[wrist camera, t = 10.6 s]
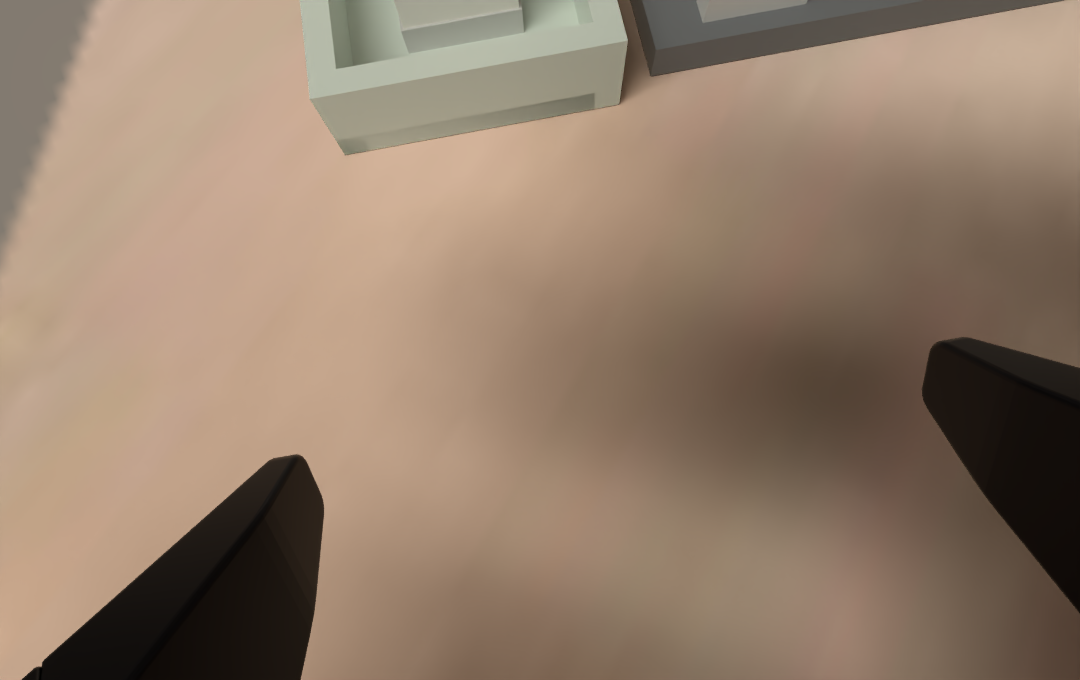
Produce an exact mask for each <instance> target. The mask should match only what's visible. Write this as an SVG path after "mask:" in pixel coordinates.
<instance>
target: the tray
mask: <svg viewBox="0 0 1080 680" xmlns="http://www.w3.org/2000/svg"><path fill="white" fill-rule="evenodd" d="M520 2H521V6H522V14H523V25H524V33H520V34H515V35H509V36H504V37H498V38H493V39H487V40H482V41H476V42H471V43H465V44H460V45H454V46H449V47H443V48H438V49H432V50H427V51H421V52H415V53H410V54H409V53H408V50H407V47H406V44H405V41H404V38H403V35H402V33H401V28H400V21H399V14H398V11H397V8H396V6H395V3H394V0H300V7H301V17H302V27H303V37H304V47H305V56H306V66H307V76H308V86H309V96H310V100H311V102H312V103H313V105H314V107H315V108H316V110H317V111H318V113H319V114H320V116H321V118H322V119H323V121H324V122H325V124H326V126H327V127H328V129H329V130H330V132H331V133H332V135H333V137H334V138H335V140H336V141H337V143H338V144H339V146H340V148H341V149H342V151H343V152H344V154H345V155H348V154H354V153H359V152H364V151H370V150H375V149H381V148H386V147H392V146H397V145H402V144H408V143H413V142H419V141H424V140H429V139H435V138H440V137H446V136H451V135H456V134H462V133H467V132H473V131H478V130H484V129H489V128H494V127H500V126H505V125H511V124H516V123H521V122H527V121H532V120H538V119H543V118H548V117H554V116H559V115H565V114H570V113H575V112H581V111H586V110H592V109H597V108H603V107H608V106H613V105H619V102H620V95H621V87H622V80H623V73H624V65H625V58H626V51H627V44H628V39H627V35H626V32H625V28H624V24H623V20H622V16H621V13H620V9H619V5H618V1H617V0H520Z"/></svg>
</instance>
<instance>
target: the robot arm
mask: <svg viewBox="0 0 1080 680" xmlns="http://www.w3.org/2000/svg"><path fill="white" fill-rule="evenodd" d="M922 396H923V400H924V403H925V405H926V407H927V409H928V410H929V412H930V413H931V415H932V417H933V418H934V420H935V421H936V423H937V424H938V426H939V427H940V429H941V430H942V432H943V433H944V435H945V436H946V438H947V440H948V441H949V443H950V444H951V446H952V447H953V449H954V450H955V452H956V453H957V455H958V456H959V458H960V459H961V461H962V463H963V464H964V466H965V467H966V469H967V470H968V472H969V473H970V475H971V476H972V478H973V479H974V481H975V482H976V484H977V485H978V487H979V488H980V489H981V491H982V492H983V494H984V495H985V496H986V498H987V499H988V500H989V502H990V503H991V504H992V505H993V507H994V508H995V509H996V511H997V512H998V513H999V514H1000V515H1001V517H1002V518H1003V519H1004V520H1005V522H1006V523H1007V524H1008V525H1009V527H1010V528H1011V529H1012V530H1013V532H1014V533H1015V534H1016V535H1017V536H1018V538H1019V539H1020V540H1021V541H1022V543H1023V544H1024V545H1025V546H1026V548H1027V549H1028V550H1029V551H1030V553H1031V554H1032V555H1033V556H1034V557H1035V559H1036V560H1037V561H1038V562H1039V564H1040V565H1041V566H1042V567H1043V569H1044V570H1045V571H1046V572H1047V574H1048V575H1049V576H1050V577H1051V578H1052V580H1053V581H1054V582H1055V583H1056V585H1057V586H1058V587H1059V588H1060V590H1061V591H1062V592H1063V593H1064V594H1065V596H1066V597H1067V598H1068V599H1069V601H1070V602H1071V603H1072V604H1073V606H1074V607H1075V608H1076V609H1077V611H1078V612H1079V613H1080V368H1078V367H1074V366H1071V365H1067V364H1063V363H1060V362H1056V361H1052V360H1049V359H1045V358H1042V357H1038V356H1034V355H1031V354H1027V353H1023V352H1020V351H1016V350H1012V349H1009V348H1005V347H1002V346H998V345H994V344H991V343H987V342H983V341H980V340H976V339H972V338H968V337H961V338H955V339H949V340H944V341H939V342H937V343H935V344H934V345H933V346H932V348H931V349H930V353H929V358H928V362H927V367H926V372H925V377H924V382H923V387H922ZM323 519H324V503H323V499H322V495H321V493H320V491H319V488H318V486H317V484H316V482H315V480H314V477H313V475H312V473H311V471H310V468H309V466H308V464H307V462H306V460H305V459H304V458H303V457H302V456H300V455H298V454H296V455H290V456H284V457H278V458H273V459H271V460H269V461H268V462H267V463H266V464H265V465H263V466H262V467H261V468H260V469H259V470H258V471H257V472H256V473H254V474H253V475H252V476H251V477H250V478H249V479H248V480H246V481H245V482H244V483H243V484H242V485H241V486H240V487H239V488H237V489H236V490H235V491H234V492H233V493H232V494H231V495H230V496H228V497H227V498H226V499H225V500H224V501H223V502H222V503H221V504H219V505H218V506H217V507H216V508H215V509H214V510H213V511H212V512H210V513H209V514H208V515H207V516H206V517H205V518H204V519H203V520H201V521H200V522H199V523H198V524H197V525H196V526H195V527H193V528H192V529H191V530H190V531H189V532H188V533H187V534H186V535H184V536H183V537H182V538H181V539H180V540H179V541H178V542H177V543H175V544H174V545H173V546H172V547H171V548H170V549H169V550H168V551H166V552H165V553H164V554H163V555H162V556H161V557H160V558H158V559H157V560H156V561H155V562H154V563H153V564H152V565H151V566H149V567H148V568H147V569H146V570H145V571H144V572H143V573H142V574H140V575H139V576H138V577H137V578H136V579H135V580H134V581H133V582H131V583H130V584H129V585H128V586H127V587H126V588H125V589H124V590H122V591H121V592H120V593H119V594H118V595H117V596H116V597H114V598H113V599H112V600H111V601H110V602H109V603H108V604H107V605H105V606H104V607H103V608H102V609H101V610H100V611H99V612H98V613H96V614H95V615H94V616H93V617H92V618H91V619H90V620H89V621H87V622H86V623H85V624H84V625H83V626H82V627H81V628H79V629H78V630H77V631H76V632H75V633H74V634H73V635H72V636H70V637H69V638H68V639H67V640H66V641H65V642H64V643H63V644H61V645H60V646H59V647H58V648H57V649H56V650H55V651H54V652H52V653H51V654H50V655H49V656H48V657H47V658H46V659H45V660H44V661H43V662H42V667H36V668H34V669H33V670H32V671H31V672H30V673H28V674H27V675H26V676H25V677H24V678H23V679H22V680H301V675H302V670H303V666H304V661H305V656H306V651H307V647H308V642H309V637H310V633H311V627H312V622H313V617H314V610H315V602H316V593H317V583H318V572H319V561H320V551H321V540H322V529H323Z"/></svg>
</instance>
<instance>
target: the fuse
mask: <svg viewBox="0 0 1080 680" xmlns="http://www.w3.org/2000/svg"><path fill="white" fill-rule="evenodd" d="M394 3H395V6H396V8H397V11H398V14H399V21H400V28H401V33H402V35H403V38H404V41H405V44H406V47H407V50H408V53H409V54H410V53H415V52H421V51H427V50H432V49H438V48H443V47H449V46H454V45H460V44H465V43H471V42H476V41H482V40H487V39H493V38H498V37H504V36H509V35H515V34H520V33H524V25H523V14H522V6H521V2H520V0H394Z"/></svg>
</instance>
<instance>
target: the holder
mask: <svg viewBox="0 0 1080 680" xmlns="http://www.w3.org/2000/svg"><path fill="white" fill-rule="evenodd" d="M630 1H631V5H632V9H633V12H634V16H635V20H636V24H637V27H638V31H639V35H640V38H641V42H642V46H643V50H644V53H645V57H646V61H647V64H648V68H649V72H650V76H656V75H661V74H667V73H672V72H677V71H683V70H688V69H694V68H699V67H705V66H710V65H715V64H721V63H726V62H732V61H737V60H743V59H748V58H753V57H759V56H764V55H770V54H775V53H780V52H786V51H791V50H797V49H802V48H808V47H813V46H818V45H824V44H829V43H835V42H840V41H845V40H851V39H856V38H862V37H867V36H873V35H878V34H883V33H889V32H894V31H900V30H905V29H911V28H916V27H921V26H927V25H932V24H938V23H943V22H948V21H954V20H959V19H965V18H970V17H976V16H981V15H986V14H992V13H997V12H1003V11H1008V10H1014V9H1019V8H1024V7H1030V6H1035V5H1041V4H1046V3H1051V2H1057V1H1062V0H630Z"/></svg>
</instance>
